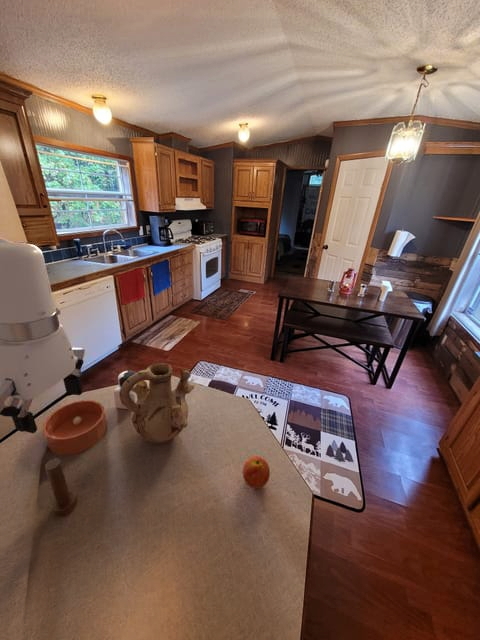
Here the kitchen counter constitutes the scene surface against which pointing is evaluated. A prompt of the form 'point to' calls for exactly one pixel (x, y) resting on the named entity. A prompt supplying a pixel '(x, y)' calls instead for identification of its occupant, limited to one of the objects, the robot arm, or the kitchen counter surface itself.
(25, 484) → the kitchen counter surface
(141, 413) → the ceramic vessel
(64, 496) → the pestle
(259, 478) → the fruit
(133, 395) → the medicine bottle
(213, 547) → the kitchen counter surface
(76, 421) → the dumpling
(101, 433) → the bowl
